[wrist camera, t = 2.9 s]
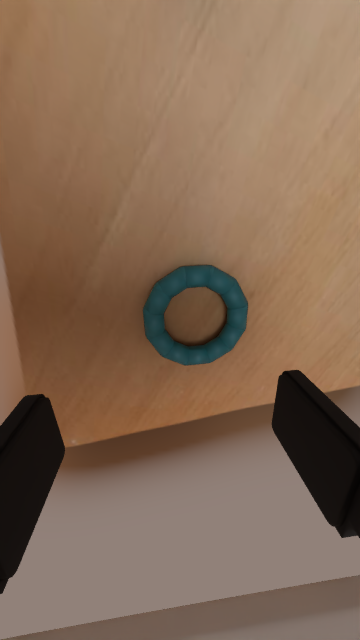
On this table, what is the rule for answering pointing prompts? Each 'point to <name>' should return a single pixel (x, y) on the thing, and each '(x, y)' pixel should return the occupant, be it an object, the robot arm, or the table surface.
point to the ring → (175, 285)
